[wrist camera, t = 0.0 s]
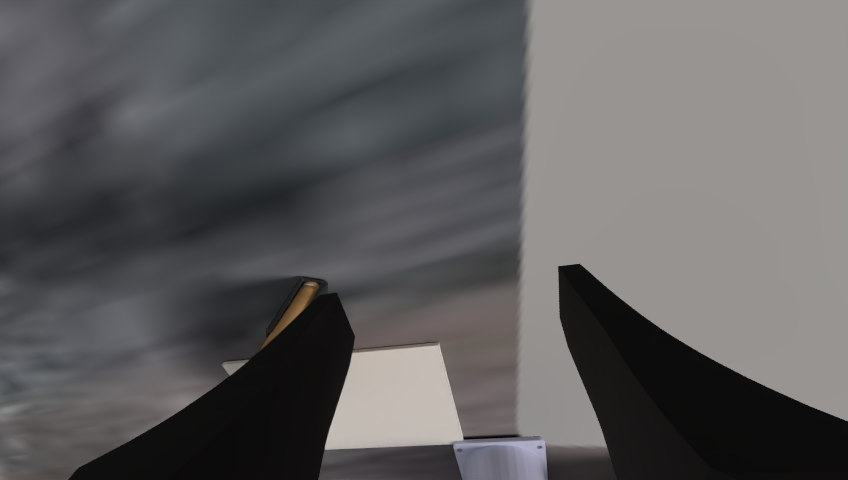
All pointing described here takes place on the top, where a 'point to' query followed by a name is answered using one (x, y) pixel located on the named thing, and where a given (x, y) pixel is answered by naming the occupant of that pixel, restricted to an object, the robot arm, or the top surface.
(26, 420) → the top surface
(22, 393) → the top surface
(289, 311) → the ammunition clip
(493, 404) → the top surface
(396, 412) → the mat
